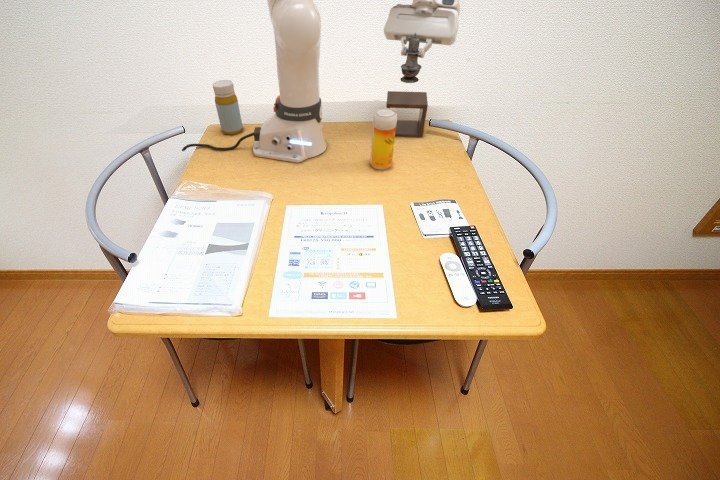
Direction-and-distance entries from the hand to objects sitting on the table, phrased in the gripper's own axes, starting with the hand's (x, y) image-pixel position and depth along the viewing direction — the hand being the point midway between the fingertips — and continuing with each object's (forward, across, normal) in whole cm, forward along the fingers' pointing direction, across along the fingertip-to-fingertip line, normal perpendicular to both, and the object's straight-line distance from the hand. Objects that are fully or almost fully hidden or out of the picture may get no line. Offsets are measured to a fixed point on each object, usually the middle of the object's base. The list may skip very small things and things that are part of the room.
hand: (412, 55), depth 102 cm
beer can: (+32, +1, -1) cm, 32 cm away
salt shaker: (+4, 0, +5) cm, 7 cm away
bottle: (+31, -51, 0) cm, 60 cm away
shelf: (+15, 0, +16) cm, 22 cm away
